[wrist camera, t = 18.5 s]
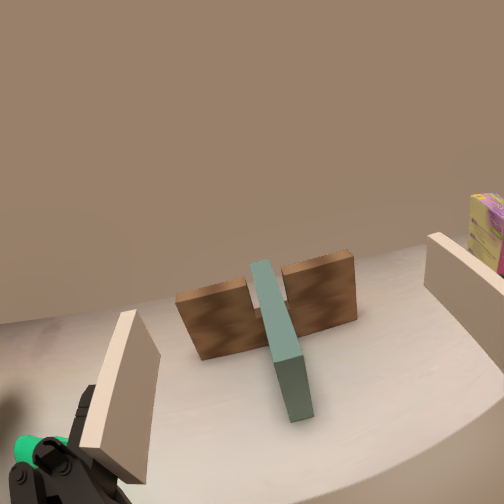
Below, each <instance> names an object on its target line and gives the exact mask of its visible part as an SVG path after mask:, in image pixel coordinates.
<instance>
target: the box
mask: <svg viewBox="0 0 504 504" xmlns="http://www.w3.org/2000/svg"><path fill="white" fill-rule="evenodd" d="M467 251H468V252H469V253H470V254H472V255H473V256H475V257H476V258H477V259H479V260H480V261H481V262H483V263H484V264H485V265H486V266H488V267H489V268H490V269H492V270H493V271H494V272H496V273H497V274H502V275H504V199H503V198H502V197H500V196H499V195H497V194H496V193H486V194H476V195H472V196H471V209H470V225H469V236H468V246H467Z"/></svg>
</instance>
